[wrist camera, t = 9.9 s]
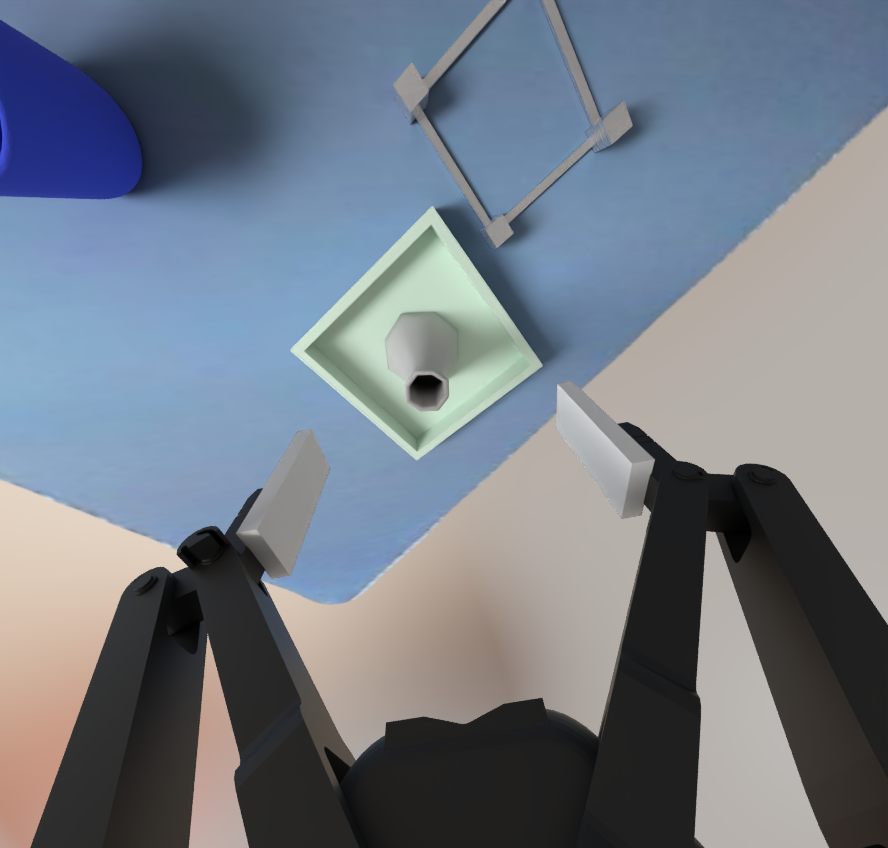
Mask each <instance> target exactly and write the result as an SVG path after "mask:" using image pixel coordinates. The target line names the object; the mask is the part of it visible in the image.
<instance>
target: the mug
mask: <svg viewBox="0 0 888 848" xmlns="http://www.w3.org/2000/svg"><path fill="white" fill-rule="evenodd" d="M141 171H142V155H141V149H140V145H139V142H138V139H137V136H136V134H135V132H134V129H133V127H132V125H131V124H130V122H129V120H128V118H127V117H126V115H125V114H124V112H123V111H122V110H121V108H120V107H119V106H118V104H117V103H116V102H115V101H114V100H113V99H112V97H111V96H110V95H109V94H108V93H107V92H106V91H105V90H104V89H103V88H102V87H101V86H100V85H98V84H97V83H96V82H95V81H94V80H93V79H91V78H90V77H89V76H88V75H86V74H85V73H84V72H82V71H81V70H79V69H78V68H76V67H75V66H73V65H72V64H70V63H69V62H67V61H65V60H64V59H62V58H61V57H59V56H57V55H56V54H54V53H53V52H51V51H49V50H48V49H46V48H45V47H43V46H41V45H40V44H38V43H37V42H35V41H33V40H32V39H30V38H29V37H27V36H25V35H24V34H22V33H21V32H19V31H17V30H16V29H14V28H13V27H11V26H9V25H8V24H6V23H5V22H3V21H1V20H0V196H11V197H43V198H76V199H111V198H116V197H120V196H122V195H125V194H126V193H128V192H129V191H131V190H132V189H133V188H134V187H135V186H136V184H137V183H138V181H139V178H140V175H141Z"/></svg>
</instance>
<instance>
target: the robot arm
mask: <svg viewBox="0 0 888 848" xmlns="http://www.w3.org/2000/svg"><path fill="white" fill-rule="evenodd" d="M556 428H557V429H558V431H559V432H560V434H561V435H562V436H563V438H564V439H565V440H566V442H567V443H568V445H569V446H570V448H571V449H572V450H573V452H574V453H575V454H576V456H577V457H578V459H579V460H580V461H581V463H582V464H583V466H584V467H585V468H586V470H587V471H588V473H589V474H590V475H591V477H592V478H593V480H594V481H595V482H596V484H597V485H598V487H599V488H600V489H601V491H602V492H603V494H604V495H605V496H606V498H607V499H608V501H609V502H610V503H611V505H612V506H613V508H614V509H615V510H616V512H617V513H618V514H619V516H620V517H621V518H622V519H623V518H629V517H635V516H640V515H642V511H643V507H644V504H645V506H646V507H647V508H648V509H649V510H650V512H651V515H650V519H649V523H648V526H647V530H646V536H645V540H644V545H643V549H642V553H641V557H640V562H639V566H638V570H637V574H636V579H635V583H634V587H633V591H632V596H631V600H630V604H629V609H628V613H627V617H626V621H625V626H624V630H623V634H622V639H621V643H620V647H619V652H618V656H617V660H616V664H615V669H614V673H613V677H612V681H611V686H610V691H609V694H608V698H607V702H606V706H605V710H604V714H603V718H602V722H601V727H600V731H599V736H598V737H597V736H596V735H595V734H594V733H592V732H591V731H590V730H589V729H588V728H586V727H585V726H584V725H582V724H581V723H579V722H578V721H576V720H575V719H573V718H571V717H569V716H567V715H565V714H562V713H559V712H557V711H554V710H549V709H545V706H544V702H543V699H542V698H538V699H532V700H525V701H519V702H513V703H507V704H503V705H501V706H499V707H498V708H495V709H494V710H492V711H490V712H488V713H486V714H484V715H482V716H480V717H479V718H477V719H475V720H473V721H471V722H469V723H467V724H458V723H454V722H449V721H444V720H439V719H433V718H428V717H419V718H412V719H406V720H400V721H393V722H387V723H386V732H385V736H383V737H381V738H380V739H379V740H377V741H376V742H375V743H373V744H372V745H371V746H370V747H369V748H368V749H367V750H366V751H365V752H363V753H362V754H361V756H360V757H359V758H358V759H357V760H355V758H354V757H353V755H352V754H351V752H350V751H349V749H348V748H347V746H346V745H345V743H344V742H343V740H342V738H341V737H340V735H339V733H338V731H337V729H336V727H335V725H334V723H333V721H332V719H331V717H330V715H329V713H328V711H327V709H326V707H325V705H324V703H323V701H322V699H321V697H320V695H319V693H318V691H317V689H316V687H315V685H314V683H313V681H312V679H311V677H310V675H309V673H308V671H307V669H306V667H305V665H304V663H303V661H302V659H301V657H300V655H299V653H298V651H297V649H296V647H295V645H294V643H293V641H292V639H291V637H290V635H289V633H288V631H287V629H286V627H285V625H284V623H283V621H282V619H281V617H280V615H279V613H278V611H277V609H276V607H275V605H274V603H273V601H272V599H271V597H270V595H269V593H268V591H267V589H266V587H265V585H264V583H263V582H262V581H261V580H260V579H261V577H262V575H263V573H264V571H266V572H267V574H268V575H269V576H270V577H271V579H274V578H280V577H286V576H291V573H292V570H293V567H294V565H295V562H296V559H297V557H298V554H299V551H300V549H301V546H302V543H303V540H304V538H305V535H306V532H307V530H308V527H309V524H310V522H311V519H312V516H313V513H314V511H315V508H316V505H317V503H318V500H319V497H320V495H321V492H322V489H323V487H324V484H325V481H326V478H327V476H328V473H329V470H330V467H329V465H328V463H327V461H326V458H325V456H324V454H323V452H322V450H321V448H320V446H319V443H318V441H317V439H316V437H315V435H314V433H313V431H312V429H308V430H303V431H298V432H297V433H296V435H295V437H294V438H293V440H292V442H291V443H290V445H289V447H288V448H287V450H286V452H285V453H284V455H283V456H282V458H281V460H280V461H279V463H278V465H277V466H276V468H275V470H274V471H273V473H272V475H271V476H270V478H269V480H268V481H267V483H266V485H265V486H264V488H261V489H257V490H256V491H255V492H254V493H253V494H252V495H251V496H250V497H249V498H248V499H247V501H246V502H245V504H244V505H243V507H242V509H241V510H240V512H239V513H238V517H236V518H235V519H234V521H233V523H232V524H231V526H230V527H229V529H228V530H227V532H226V534H225V535H224V534H223V533H222V532H221V531H220V529H219V528H218V527H216V526H209V527H205V528H202V529H200V530H198V531H196V532H195V533H193V534H192V535H190V536H189V537H187V538H186V539H185V540H184V541H183V542H182V543H181V545H180V546H179V548H178V549H177V555H178V557H179V558H180V559H182V561H183V562H184V563H185V564H186V565H187V566H188V567H187V568H184V569H182V570H179V571H177V572H175V573H171V572H169V571H168V570H167V569H166V568H164V567H157V568H154V569H151V570H149V571H147V572H145V573H143V574H142V575H140V576H139V577H138V578H136V579H135V580H134V581H133V582H131V584H130V585H129V586H128V587H127V588H126V589H125V591H124V592H123V594H122V596H121V599H120V601H119V604H118V607H117V610H116V612H115V615H114V618H113V621H112V623H111V626H110V629H109V632H108V635H107V637H106V640H105V643H104V646H103V648H102V651H101V654H100V657H99V660H98V663H97V665H96V668H95V671H94V673H93V676H92V679H91V682H90V684H89V687H88V690H87V693H86V695H85V698H84V701H83V704H82V707H81V709H80V712H79V715H78V718H77V721H76V723H75V726H74V729H73V731H72V734H71V737H70V740H69V742H68V745H67V748H66V751H65V754H64V756H63V759H62V762H61V765H60V767H59V771H58V773H57V776H56V778H55V781H54V784H53V787H52V790H51V792H50V795H49V798H48V801H47V804H46V806H45V809H44V812H43V815H42V817H41V820H40V823H39V826H38V828H37V831H36V834H35V837H34V839H33V842H32V845H31V848H189V837H190V825H191V815H192V803H193V792H194V781H195V769H196V757H197V746H198V735H199V724H200V712H201V701H202V690H203V679H204V667H205V654H206V644H207V633H208V636H209V640H210V644H211V648H212V651H213V655H214V659H215V663H216V667H217V670H218V674H219V678H220V682H221V686H222V690H223V693H224V697H225V701H226V705H227V709H228V713H229V716H230V720H231V724H232V728H233V732H234V736H235V739H236V743H237V747H238V751H239V755H240V766H239V767H238V768H237V769H236V771H235V776H234V781H235V788H236V793H237V798H238V802H239V806H240V810H241V815H242V819H243V823H244V827H245V832H246V836H247V839H248V844H249V848H704V847H703V846H702V845H701V844H700V843H699V841H698V840H697V839H696V838H695V837H694V834H695V816H696V797H697V779H698V759H699V742H700V723H701V703H700V698H699V696H698V694H697V692H696V677H697V662H698V646H699V631H700V617H701V602H702V587H703V572H704V558H705V543H706V542H705V541H706V531H711V532H716V535H717V537H718V540H719V543H720V546H721V549H722V552H723V555H724V558H725V561H726V563H727V566H728V569H729V572H730V575H731V578H732V581H733V583H734V587H735V590H736V592H737V595H738V598H739V601H740V604H741V607H742V610H743V613H744V616H745V618H746V621H747V624H748V627H749V630H750V633H751V635H752V639H753V641H754V644H755V647H756V650H757V653H758V656H759V659H760V662H761V664H762V668H763V671H764V673H765V676H766V679H767V682H768V685H769V688H770V691H771V694H772V696H773V699H774V702H775V705H776V708H777V711H778V714H779V717H780V720H781V723H782V725H783V728H784V731H785V734H786V737H787V740H788V743H789V746H790V749H791V751H792V754H793V757H794V760H795V763H796V766H797V769H798V772H799V775H800V777H801V780H802V783H803V786H804V789H805V792H806V794H807V797H808V799H809V802H810V804H811V807H812V809H813V812H814V815H815V817H816V820H817V822H818V825H819V827H820V829H821V831H822V833H823V835H824V838H825V840H826V842H827V844H828V846H829V848H888V625H887V623H886V622H885V620H884V619H883V617H882V616H881V614H880V613H879V611H878V610H877V608H876V607H875V606H874V604H873V602H872V601H871V599H870V598H869V596H868V595H867V594H866V592H865V590H864V589H863V587H862V586H861V584H860V583H859V582H858V580H857V579H856V577H855V576H854V574H853V573H852V571H851V570H850V568H849V567H848V565H847V564H846V562H845V561H844V559H843V558H842V556H841V555H840V553H839V552H838V550H837V549H836V547H835V546H834V544H833V543H832V541H831V540H830V538H829V537H828V535H827V534H826V532H825V531H824V530H823V528H822V527H821V525H820V524H819V522H818V521H817V519H816V518H815V516H814V515H813V513H812V512H811V510H810V509H809V507H808V506H807V504H806V503H805V501H804V500H803V498H802V497H801V495H800V494H799V493H798V491H797V490H796V488H795V486H794V485H793V483H792V482H791V481H790V479H789V478H788V477H787V476H786V475H785V474H783V473H781V472H780V471H778V470H776V469H774V468H771V467H768V466H765V465H759V464H743V465H740V466H738V467H737V468H736V470H735V472H734V474H733V475H724V474H708V473H707V472H706V471H705V470H704V469H702V468H701V467H699V466H697V465H694V464H692V463H688V462H682V461H677V460H676V459H674V458H673V457H672V456H671V455H670V454H669V453H667V452H666V451H665V450H664V449H663V448H662V447H661V446H660V445H658V444H657V443H656V442H654V441H653V439H651V438H650V437H649V436H647V434H646V433H645V432H644V431H642V430H641V429H640V428H639V427H637V426H634V425H632V424H630V423H628V422H625V423H620V424H617V423H616V422H615V421H614V420H613V419H611V418H610V417H609V416H608V415H607V414H606V413H605V412H604V411H603V410H602V409H601V408H600V407H599V406H598V405H597V404H596V403H595V402H594V401H593V400H592V399H590V398H589V397H588V396H587V395H586V394H585V393H584V392H583V391H582V390H581V389H580V388H579V387H578V386H577V385H576V384H575V383H574V382H573V381H570V382H564V383H559V384H558V385H557V423H556Z"/></svg>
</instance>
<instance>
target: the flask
mask: <svg viewBox="0 0 888 848" xmlns="http://www.w3.org/2000/svg"><path fill="white" fill-rule="evenodd" d="M385 346H386V355H387V363H388V369H389V370H390V371H392V372H393V373H395V374H396V375H398V376H399V377H400V378H402V379H403V380H404V381H405V382H406V383H405V385H404V387H405V398H406V403H407V404H409V405H410V406H412V407H414V408H416V409H417V410H419V411H421V412H423V411H439V409H440V408H441V407H442V406H443V404H444V403H445V402H446V400H447V399H448V398H449V379H448V378H447V377H446V375H447V374H448V373H449V371H450V370H451V369H452V367H453V366H454V365H455V363H456V362H457V361H458V330H457V329H456V328H454V327H453V326H452V325H450V324H449V323H447V322H446V321H445V320H443V319H442V318H440V317H439V316H438V315H436V314H435V313H434V312H422V313H401V314H400V316H399V318H398V319H397V321H396V322H395V324H394V326H393V327H392V329H391V330H390V332H389V334H388V335H387V337H386V339H385Z"/></svg>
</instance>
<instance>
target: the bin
mask: <svg viewBox="0 0 888 848" xmlns="http://www.w3.org/2000/svg"><path fill="white" fill-rule="evenodd" d="M422 312H434V313H435V314H436V315H438V316H439V317H440V318H442V319H443V320H445V321H446V322H447V323H449V324H450V325H452V326H453V327H454V328H456V329H457V330H458V361H457V362H456V363H455V365H454V366H453V367H452V369H451V370H450V371H449V373H448V374H447V375H446V377H447V378H448V379H449V398H448V399H447V400H446V402H445V403H444V404H443V406H442V407H441V408H440V409H439V411H423V412H421V411H419V410H417V409H416V408H414V407H412V406H410V405H409V404H407V403H406V398H405V387H404V385H405V383H406V382H405V381H404V380H403V379H402V378H400V377H399V376H398V375H396V374H395V373H393V372H392V371H390V370H389V369H388V363H387V355H386V346H385V339H386V337H387V335H388V334H389V332H390V330H391V329H392V327H393V326H394V324H395V322H396V321H397V319H398V318H399V316H400V314H401V313H422ZM290 351H291V352H293V353H294V354H295V355H296V356H297V357H298V358H299V359H301V360H302V361H303V362H304V363H305V364H306V365H308V366H309V367H310V368H311V369H312V370H313V371H314V372H316V373H317V374H318V375H319V376H320V377H321V378H322V379H324V380H325V381H326V382H327V383H328V384H329V385H331V386H332V387H333V388H334V389H335V390H336V391H337V392H339V393H340V394H341V395H342V396H343V397H344V398H345V399H347V400H348V401H349V402H350V403H351V404H352V405H354V406H355V407H356V408H357V409H358V410H359V411H360V412H362V413H363V414H364V415H365V416H366V417H367V418H368V419H370V420H371V421H372V422H373V423H374V424H375V425H376V426H378V427H379V428H380V429H381V430H382V431H383V432H385V433H386V434H387V435H388V436H389V437H390V438H391V439H393V440H394V441H395V442H396V443H397V444H398V445H399V446H401V447H402V448H403V449H404V450H405V451H406V452H408V453H409V454H410V455H411V456H412V457H413V458H414V459H416V460H418V459H419V458H421V457H422V456H423V455H425V454H426V453H427V452H429V451H430V450H431V449H433V448H434V447H435V446H437V445H438V444H439V443H441V442H442V441H443V440H445V439H446V438H447V437H449V436H450V435H451V434H453V433H454V432H455V431H457V430H458V429H459V428H461V427H462V426H463V425H465V424H466V423H467V422H469V421H470V420H471V419H473V418H474V417H475V416H477V415H478V414H479V413H481V412H482V411H483V410H485V409H486V408H487V407H489V406H490V405H491V404H493V403H494V402H495V401H497V400H498V399H499V398H501V397H502V396H503V395H505V394H506V393H507V392H509V391H510V390H511V389H513V388H514V387H515V386H517V385H518V384H519V383H521V382H522V381H523V380H525V379H526V378H527V377H529V376H530V375H531V374H533V373H534V372H535V371H537V370H538V369H539V368H541V367H542V366H543V365H542V363H541V362H540V360H539V359H538V358H537V356H536V355H535V353H534V352H533V350H532V349H531V347H530V346H529V345H528V343H527V342H526V340H525V339H524V337H523V336H522V334H521V333H520V332H519V330H518V329H517V327H516V326H515V324H514V323H513V321H512V320H511V319H510V317H509V316H508V314H507V313H506V311H505V310H504V308H503V307H502V306H501V304H500V303H499V301H498V300H497V298H496V297H495V295H494V294H493V293H492V291H491V290H490V288H489V287H488V285H487V284H486V282H485V281H484V280H483V278H482V277H481V275H480V274H479V272H478V271H477V269H476V268H475V267H474V265H473V264H472V262H471V261H470V259H469V258H468V256H467V255H466V254H465V252H464V251H463V249H462V248H461V246H460V245H459V243H458V242H457V240H456V239H455V238H454V236H453V235H452V233H451V232H450V230H449V229H448V227H447V226H446V225H445V223H444V222H443V220H442V219H441V217H440V216H439V214H438V213H437V212H436V210H435V209H434V207H433V206H432V207H431V208H430V209H429V210H428V211H427V212H426V213H425V214H424V215H423V216H422V217H421V218H420V219H419V220H418V221H417V222H416V223H415V224H414V225H413V226H412V227H411V228H410V229H409V230H408V231H407V232H406V233H405V234H404V235H403V236H402V237H401V238H400V239H399V240H398V241H397V242H396V243H395V244H394V245H393V246H392V247H391V248H390V249H389V250H388V251H387V252H386V253H385V254H384V255H383V256H382V257H381V258H380V259H379V260H378V261H377V262H376V264H375V265H374V266H373V267H372V268H371V269H370V270H369V271H368V272H367V273H366V274H365V275H364V276H363V277H362V278H361V279H360V280H359V281H358V282H357V283H356V284H355V285H354V286H353V287H352V288H351V289H350V290H349V291H348V292H347V293H346V294H345V295H344V296H343V297H342V298H341V299H340V300H339V301H338V302H337V303H336V304H335V305H334V306H333V307H332V308H331V309H330V310H329V311H328V312H327V313H326V314H325V315H324V316H323V317H322V318H321V319H320V320H319V321H318V322H317V323H316V324H315V325H314V326H313V327H312V328H311V329H310V330H309V331H308V332H307V333H306V334H305V335H304V336H303V337H302V338H301V339H300V341H299V342H298V343H297V344H296V345H295V346H294V347H293V348H292V349H291V350H290Z"/></svg>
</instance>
